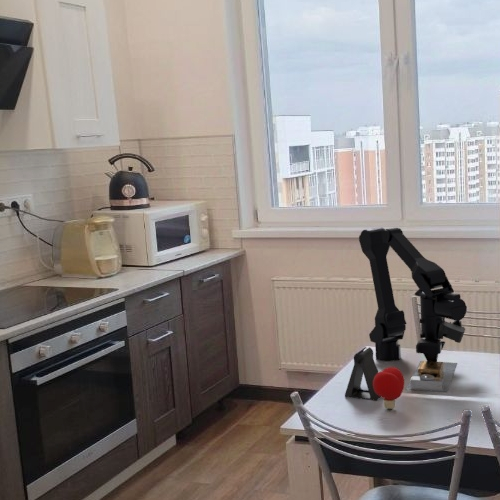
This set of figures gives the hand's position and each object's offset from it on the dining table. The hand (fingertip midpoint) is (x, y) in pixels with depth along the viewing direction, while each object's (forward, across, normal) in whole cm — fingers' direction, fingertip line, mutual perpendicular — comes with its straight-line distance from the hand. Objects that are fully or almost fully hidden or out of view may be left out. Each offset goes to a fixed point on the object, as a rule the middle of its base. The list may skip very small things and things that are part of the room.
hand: (433, 369), depth 204 cm
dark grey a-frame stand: (+2, -18, +15) cm, 23 cm away
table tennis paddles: (+2, -27, +7) cm, 28 cm away
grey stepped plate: (+2, -2, 0) cm, 3 cm away
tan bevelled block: (+1, -5, 0) cm, 5 cm away
